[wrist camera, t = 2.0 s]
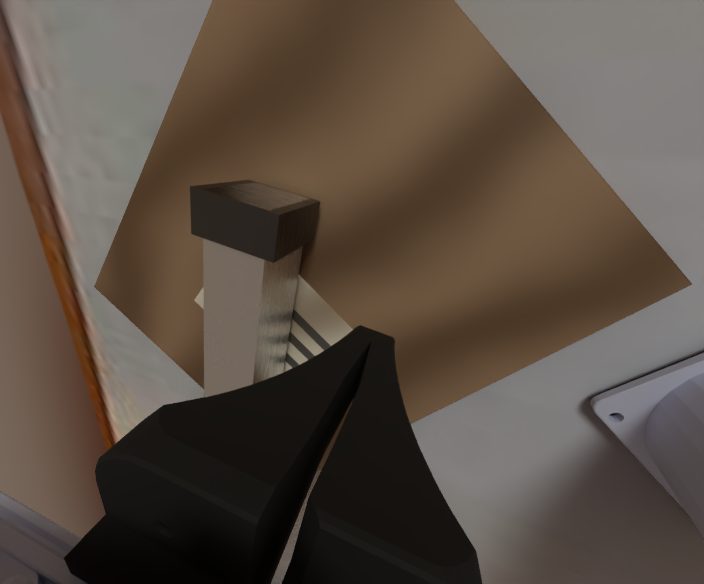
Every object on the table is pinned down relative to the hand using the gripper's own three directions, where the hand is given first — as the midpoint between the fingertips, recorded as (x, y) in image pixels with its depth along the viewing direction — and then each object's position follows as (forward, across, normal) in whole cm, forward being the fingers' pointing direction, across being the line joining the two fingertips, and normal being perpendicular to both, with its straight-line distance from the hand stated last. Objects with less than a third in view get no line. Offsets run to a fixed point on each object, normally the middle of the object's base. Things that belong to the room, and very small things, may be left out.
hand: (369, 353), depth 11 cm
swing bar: (+3, +5, +4) cm, 7 cm away
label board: (+4, +4, 0) cm, 6 cm away
